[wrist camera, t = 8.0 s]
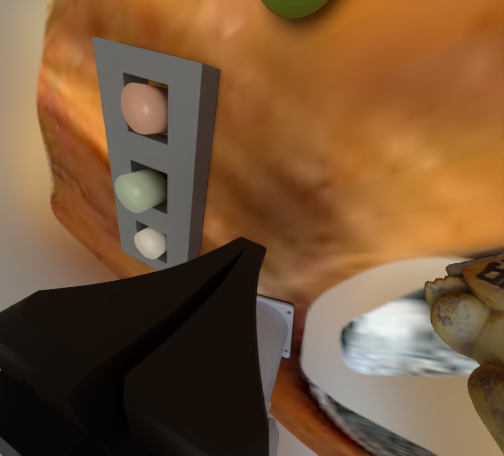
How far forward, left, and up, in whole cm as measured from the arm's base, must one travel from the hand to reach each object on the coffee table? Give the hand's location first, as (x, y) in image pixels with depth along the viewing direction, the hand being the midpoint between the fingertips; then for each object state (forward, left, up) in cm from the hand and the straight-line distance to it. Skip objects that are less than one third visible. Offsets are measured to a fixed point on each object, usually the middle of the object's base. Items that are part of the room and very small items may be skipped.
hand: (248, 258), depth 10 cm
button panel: (0, +14, -10) cm, 17 cm away
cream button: (-7, +16, -10) cm, 20 cm away
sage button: (0, +14, -9) cm, 16 cm away
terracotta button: (+7, +12, -10) cm, 17 cm away
